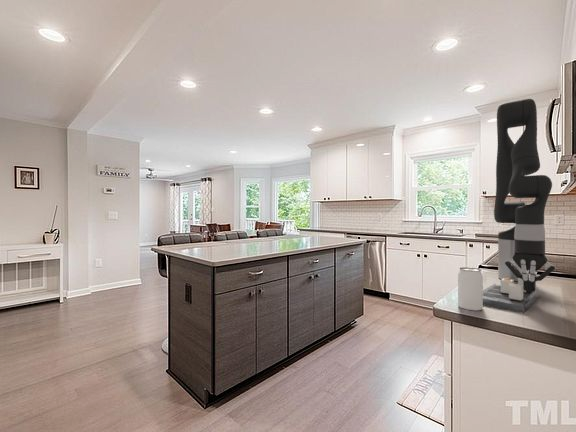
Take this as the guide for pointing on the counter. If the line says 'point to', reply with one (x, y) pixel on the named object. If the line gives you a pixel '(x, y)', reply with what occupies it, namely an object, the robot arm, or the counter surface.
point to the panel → (508, 299)
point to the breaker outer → (515, 291)
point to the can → (470, 289)
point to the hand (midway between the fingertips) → (529, 292)
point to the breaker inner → (521, 283)
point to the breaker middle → (506, 285)
